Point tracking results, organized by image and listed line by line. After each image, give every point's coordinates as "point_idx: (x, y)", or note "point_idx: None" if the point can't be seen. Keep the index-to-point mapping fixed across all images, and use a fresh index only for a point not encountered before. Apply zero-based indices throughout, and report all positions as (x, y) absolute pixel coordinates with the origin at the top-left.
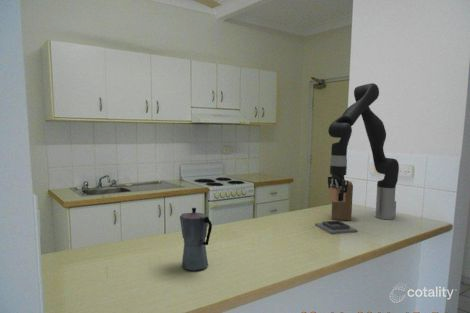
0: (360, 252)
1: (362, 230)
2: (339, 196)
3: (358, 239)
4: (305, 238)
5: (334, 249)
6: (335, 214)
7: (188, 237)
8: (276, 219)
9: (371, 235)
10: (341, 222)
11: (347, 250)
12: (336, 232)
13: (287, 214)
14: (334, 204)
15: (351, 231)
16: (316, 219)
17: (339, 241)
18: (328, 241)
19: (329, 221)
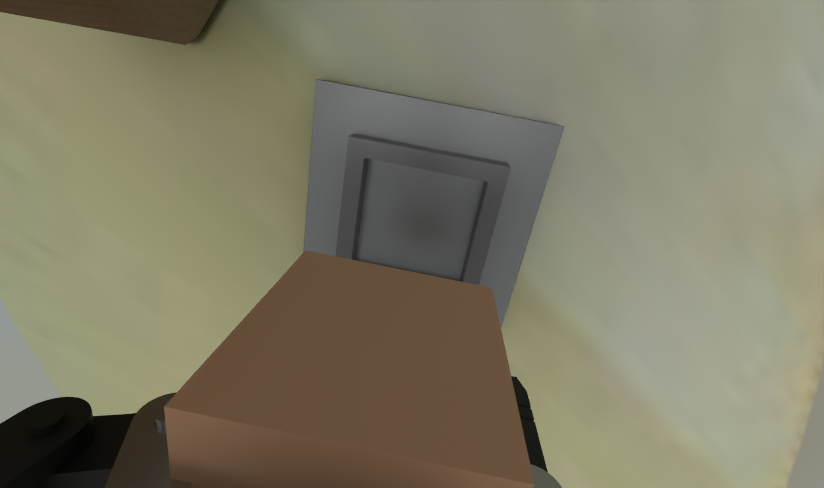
0: (796, 399)
1: (551, 36)
2: None
3: (667, 248)
4: None
5: (675, 464)
6: (179, 18)
7: None
8: (137, 404)
9: (679, 77)
10: (408, 158)
11: (729, 429)
12: (509, 297)
13: (22, 284)
14: (76, 9)
15: (544, 180)
16: (170, 177)
17: (615, 371)
18: (579, 416)
19: (348, 231)
